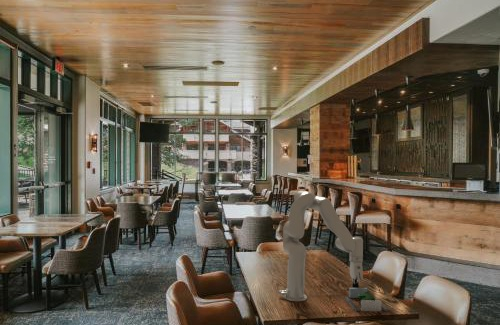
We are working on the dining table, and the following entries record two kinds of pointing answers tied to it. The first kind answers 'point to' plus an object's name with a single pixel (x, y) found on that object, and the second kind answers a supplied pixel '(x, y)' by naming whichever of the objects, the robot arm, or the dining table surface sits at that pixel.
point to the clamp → (365, 296)
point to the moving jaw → (356, 292)
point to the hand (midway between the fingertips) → (355, 290)
